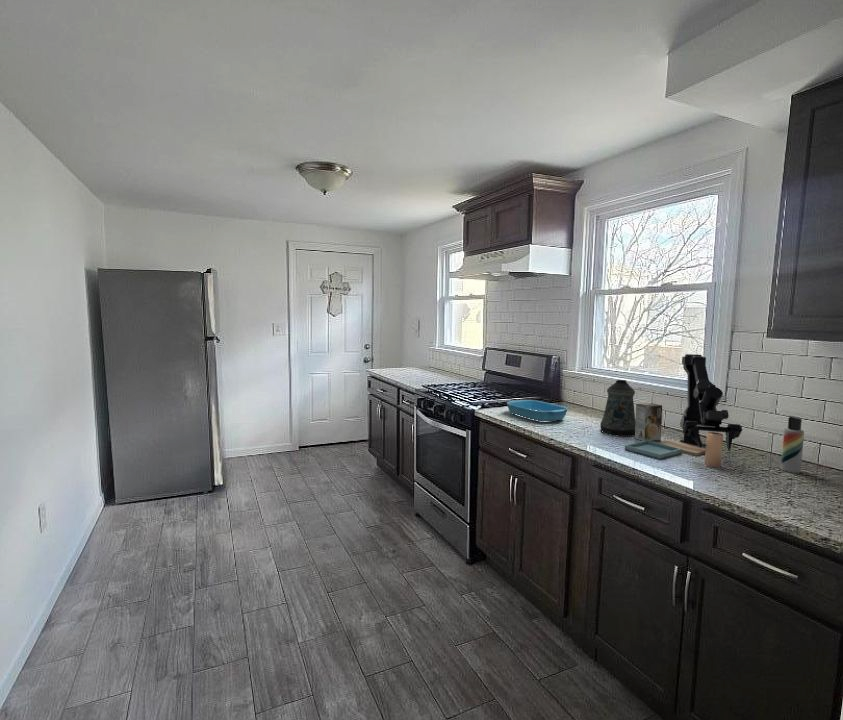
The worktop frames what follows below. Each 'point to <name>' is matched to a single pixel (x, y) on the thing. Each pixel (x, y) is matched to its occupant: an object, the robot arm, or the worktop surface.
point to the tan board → (685, 447)
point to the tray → (653, 449)
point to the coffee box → (648, 422)
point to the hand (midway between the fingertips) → (715, 448)
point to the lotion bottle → (792, 446)
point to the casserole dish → (543, 410)
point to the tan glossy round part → (713, 449)
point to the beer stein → (619, 410)
